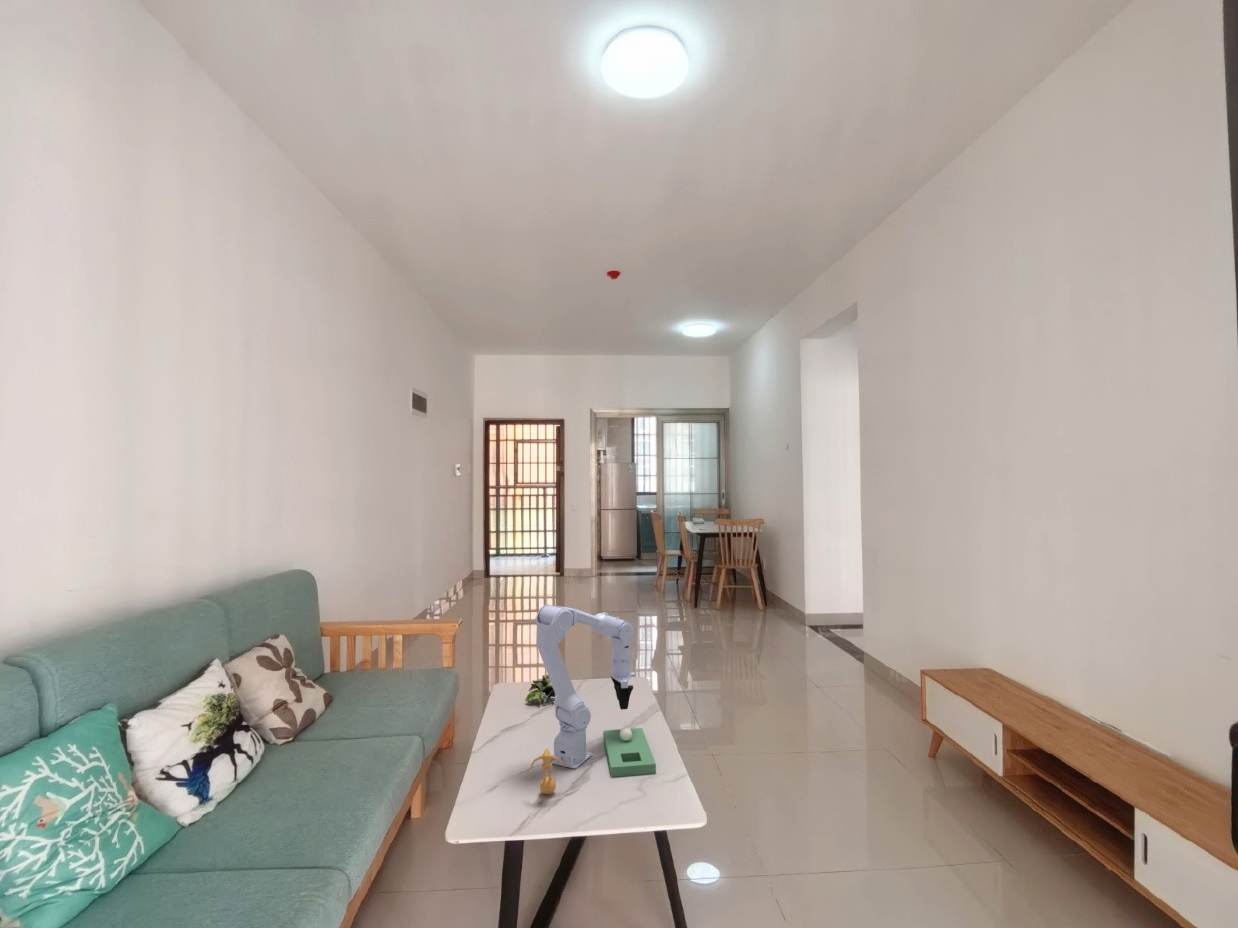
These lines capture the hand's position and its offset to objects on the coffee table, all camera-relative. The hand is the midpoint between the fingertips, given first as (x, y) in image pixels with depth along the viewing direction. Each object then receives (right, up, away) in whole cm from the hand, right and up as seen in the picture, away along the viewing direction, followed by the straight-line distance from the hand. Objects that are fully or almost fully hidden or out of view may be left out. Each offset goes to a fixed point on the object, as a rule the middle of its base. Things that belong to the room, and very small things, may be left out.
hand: (622, 704), depth 181 cm
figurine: (-19, -10, -33) cm, 39 cm away
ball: (+1, -6, -7) cm, 9 cm away
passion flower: (-28, -13, +32) cm, 44 cm away
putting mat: (+2, -10, -11) cm, 15 cm away
